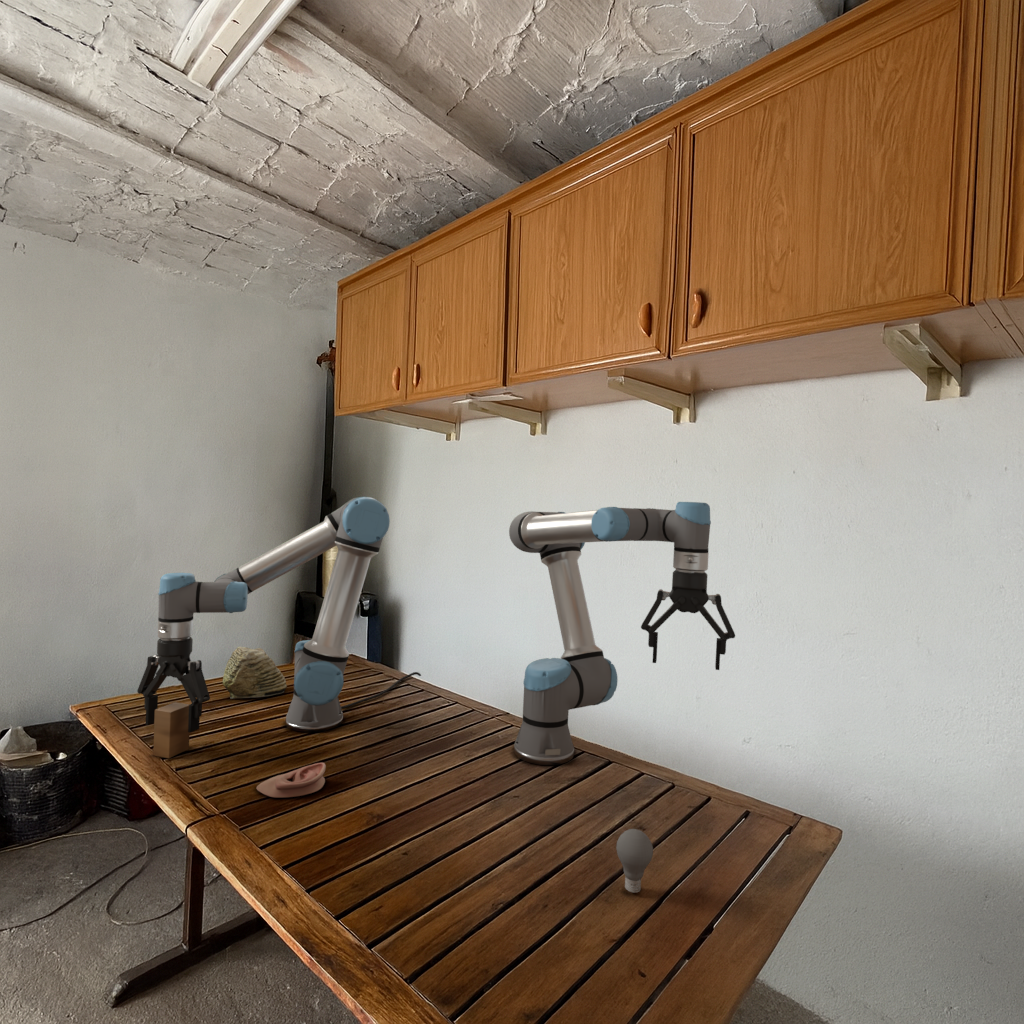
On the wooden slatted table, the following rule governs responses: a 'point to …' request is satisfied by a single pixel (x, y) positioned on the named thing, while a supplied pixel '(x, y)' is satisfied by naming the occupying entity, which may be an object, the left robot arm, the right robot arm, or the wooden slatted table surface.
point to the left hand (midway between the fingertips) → (172, 726)
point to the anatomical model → (295, 782)
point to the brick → (171, 730)
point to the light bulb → (634, 857)
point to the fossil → (252, 674)
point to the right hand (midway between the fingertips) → (685, 665)
